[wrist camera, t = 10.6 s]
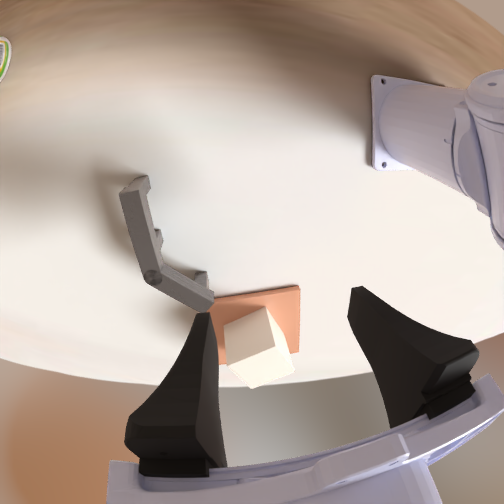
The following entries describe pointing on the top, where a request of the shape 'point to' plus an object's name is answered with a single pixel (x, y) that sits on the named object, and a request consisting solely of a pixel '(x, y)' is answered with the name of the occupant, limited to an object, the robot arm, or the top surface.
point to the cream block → (257, 349)
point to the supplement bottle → (4, 56)
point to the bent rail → (150, 256)
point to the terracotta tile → (276, 301)
